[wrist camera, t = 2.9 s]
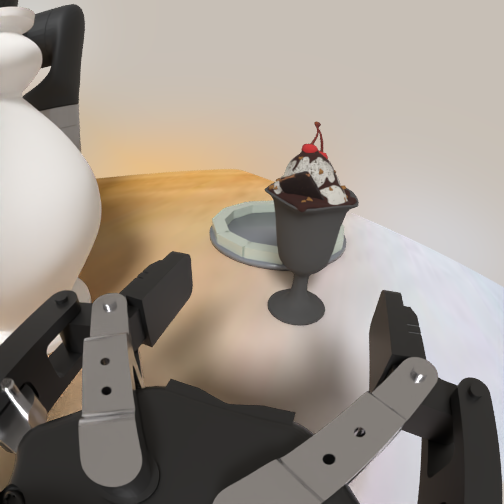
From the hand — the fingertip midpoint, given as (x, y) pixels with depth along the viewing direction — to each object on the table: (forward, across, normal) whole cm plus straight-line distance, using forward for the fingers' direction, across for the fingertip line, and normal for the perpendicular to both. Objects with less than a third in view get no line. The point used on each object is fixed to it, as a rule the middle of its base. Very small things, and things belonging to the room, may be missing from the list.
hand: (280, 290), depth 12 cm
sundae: (+11, 0, +9) cm, 14 cm away
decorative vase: (+1, +22, +9) cm, 24 cm away
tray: (+25, +4, +9) cm, 27 cm away
